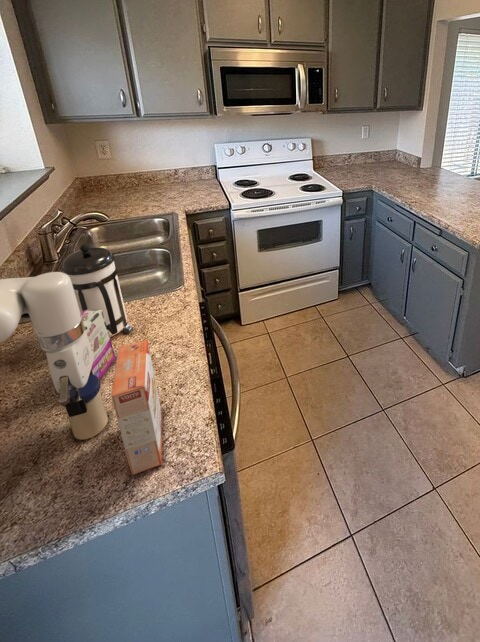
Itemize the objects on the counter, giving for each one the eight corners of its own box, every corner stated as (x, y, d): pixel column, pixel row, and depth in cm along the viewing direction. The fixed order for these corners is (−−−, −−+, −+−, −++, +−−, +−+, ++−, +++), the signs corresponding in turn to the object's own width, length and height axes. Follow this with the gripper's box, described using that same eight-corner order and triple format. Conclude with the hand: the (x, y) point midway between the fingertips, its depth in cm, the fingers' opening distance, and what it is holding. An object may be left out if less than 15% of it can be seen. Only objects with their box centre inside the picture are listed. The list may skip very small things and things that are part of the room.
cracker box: (164, 464, 72) (146, 385, 65) (130, 477, 70) (108, 396, 62) (163, 409, 84) (148, 337, 77) (135, 418, 82) (116, 345, 75)
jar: (74, 445, 76) (61, 408, 72) (73, 422, 81) (60, 387, 77) (109, 428, 79) (99, 392, 76) (106, 408, 84) (96, 373, 81)
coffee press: (63, 351, 102) (33, 258, 91) (99, 316, 117) (77, 232, 106) (121, 354, 101) (97, 260, 90) (150, 318, 116) (133, 234, 105)
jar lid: (62, 388, 78) (60, 382, 77) (101, 375, 81) (99, 369, 81) (58, 414, 72) (56, 407, 72) (100, 398, 76) (98, 392, 75)
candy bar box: (98, 358, 99) (84, 309, 94) (116, 358, 99) (103, 308, 94) (72, 391, 89) (54, 338, 83) (92, 391, 89) (75, 338, 83)
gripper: (72, 356, 65) (94, 427, 71) (92, 304, 80) (109, 365, 86) (22, 368, 62) (49, 440, 68) (52, 311, 77) (72, 374, 84)
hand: (82, 398), depth 77 cm, fingers closed on jar lid, 7 cm apart
